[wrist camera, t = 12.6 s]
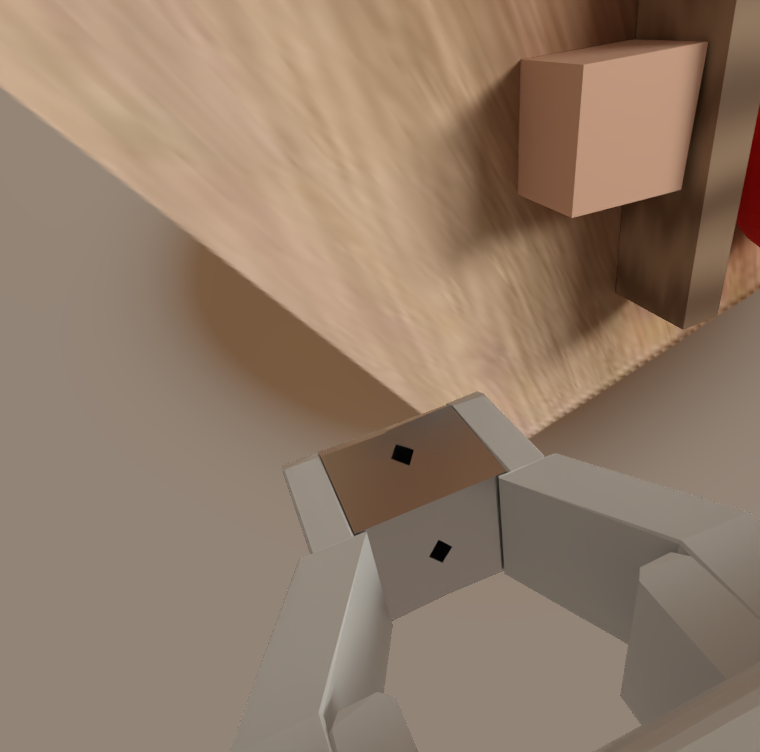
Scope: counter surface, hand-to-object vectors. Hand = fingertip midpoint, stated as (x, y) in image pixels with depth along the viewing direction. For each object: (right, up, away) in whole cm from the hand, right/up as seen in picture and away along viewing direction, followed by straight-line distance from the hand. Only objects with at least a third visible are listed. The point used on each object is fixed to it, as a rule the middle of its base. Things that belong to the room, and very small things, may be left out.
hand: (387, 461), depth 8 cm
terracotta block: (+12, +18, +29) cm, 36 cm away
